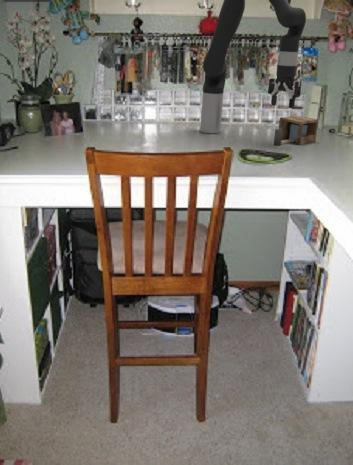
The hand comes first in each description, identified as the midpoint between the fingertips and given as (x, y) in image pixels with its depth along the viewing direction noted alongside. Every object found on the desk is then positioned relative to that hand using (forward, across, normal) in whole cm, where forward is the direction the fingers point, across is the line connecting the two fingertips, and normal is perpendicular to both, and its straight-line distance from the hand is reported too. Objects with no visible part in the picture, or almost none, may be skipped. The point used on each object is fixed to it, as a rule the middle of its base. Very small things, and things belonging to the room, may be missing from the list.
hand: (282, 106), depth 189 cm
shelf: (+15, 0, -12) cm, 20 cm away
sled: (+15, 0, -7) cm, 17 cm away
